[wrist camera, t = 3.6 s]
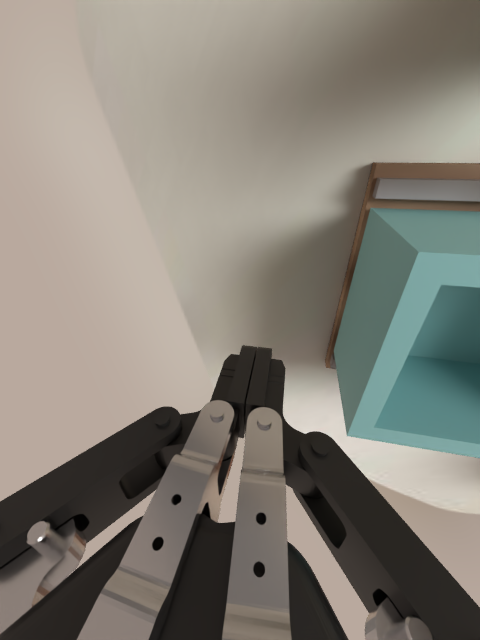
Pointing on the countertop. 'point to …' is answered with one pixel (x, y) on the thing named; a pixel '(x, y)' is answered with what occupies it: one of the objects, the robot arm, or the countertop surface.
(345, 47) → the countertop surface
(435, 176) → the track board
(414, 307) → the holder
